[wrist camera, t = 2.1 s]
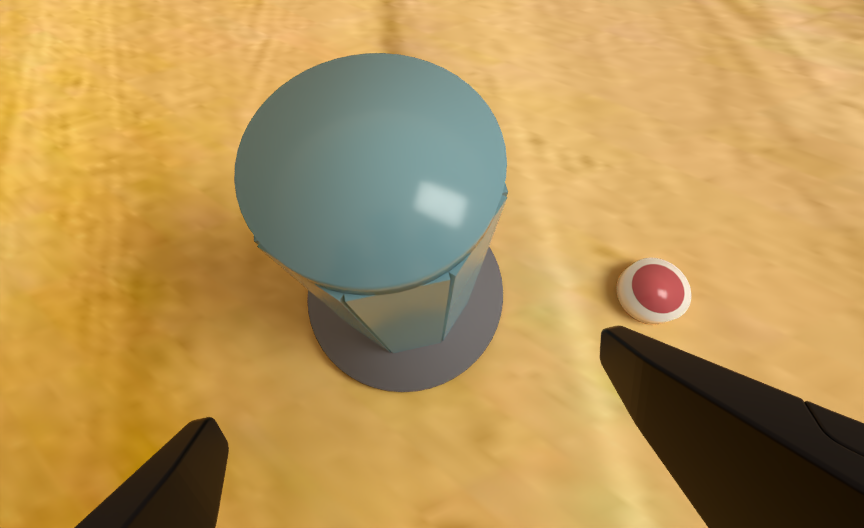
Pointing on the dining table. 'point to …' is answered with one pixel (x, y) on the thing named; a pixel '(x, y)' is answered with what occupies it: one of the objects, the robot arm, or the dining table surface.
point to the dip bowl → (653, 291)
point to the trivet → (421, 363)
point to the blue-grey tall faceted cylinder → (376, 191)
